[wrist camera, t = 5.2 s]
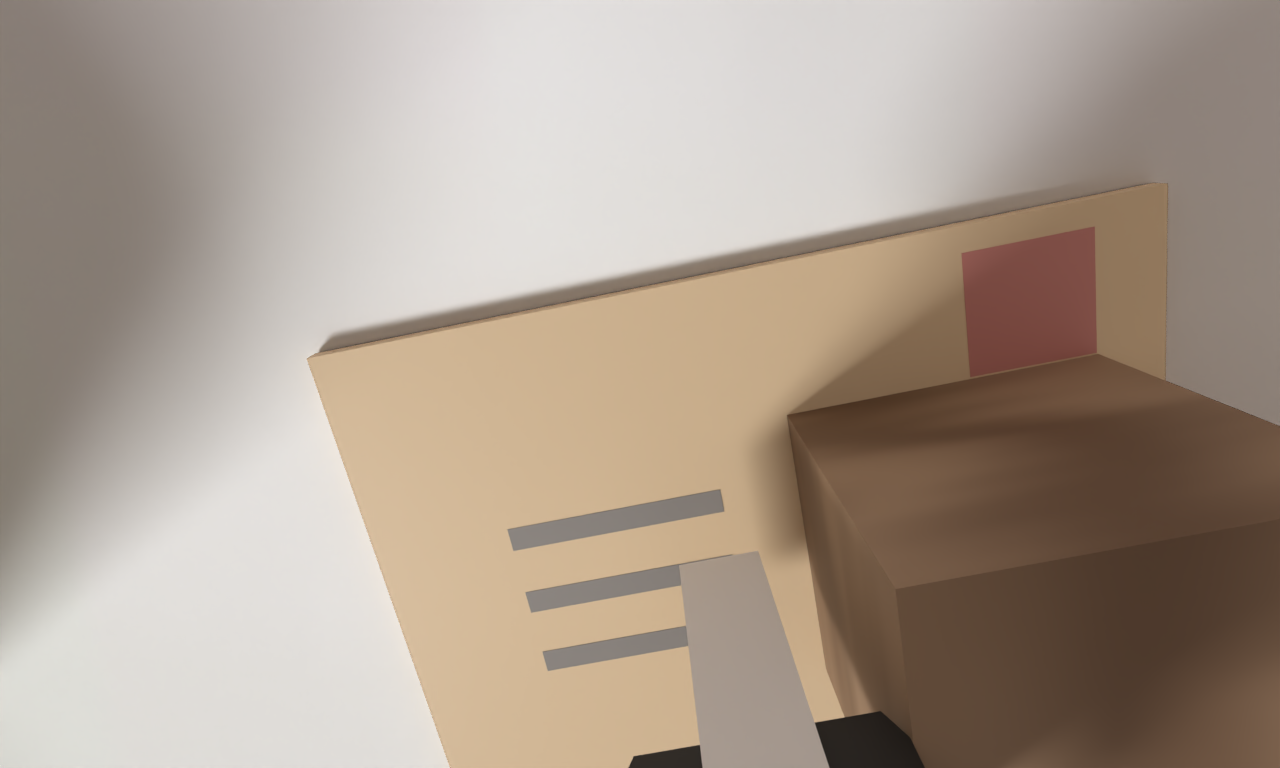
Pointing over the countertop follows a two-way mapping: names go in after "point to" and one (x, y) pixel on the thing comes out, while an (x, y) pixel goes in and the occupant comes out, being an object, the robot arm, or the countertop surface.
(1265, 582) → the walnut block
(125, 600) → the countertop surface
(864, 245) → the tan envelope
